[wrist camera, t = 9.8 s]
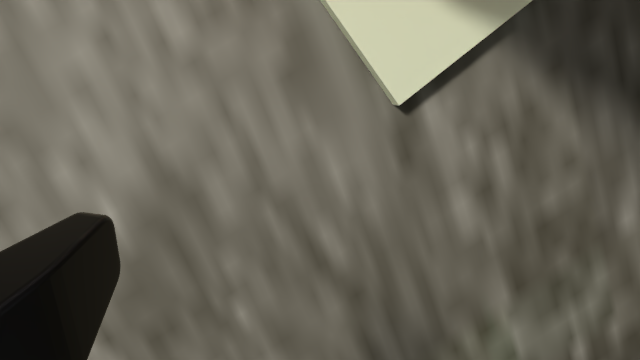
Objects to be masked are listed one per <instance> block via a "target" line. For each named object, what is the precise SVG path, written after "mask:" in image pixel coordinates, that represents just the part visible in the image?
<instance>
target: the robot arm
mask: <svg viewBox="0 0 640 360" xmlns="http://www.w3.org/2000/svg"><path fill="white" fill-rule="evenodd" d="M119 275H120V258H119V252H118V246H117V240H116V234H115V228H114V224H113V221H112V220H111V218H110V217H108V216H106V215H100V214H93V213H85V212H80V213H76V214H74V215H72V216H70V217H68V218H66V219H64V220H62V221H60V222H58V223H56V224H54V225H52V226H50V227H48V228H46V229H44V230H42V231H40V232H38V233H36V234H34V235H32V236H30V237H28V238H26V239H24V240H22V241H20V242H18V243H16V244H14V245H12V246H11V247H9V248H7V249H5V250H3V251H1V252H0V360H87V359H88V356H89V354H90V351H91V348H92V346H93V343H94V341H95V338H96V336H97V333H98V331H99V328H100V325H101V323H102V320H103V318H104V315H105V313H106V310H107V307H108V305H109V302H110V300H111V297H112V295H113V292H114V290H115V287H116V284H117V282H118V279H119Z"/></svg>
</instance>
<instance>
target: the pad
mask: <svg viewBox="0 0 640 360" xmlns="http://www.w3.org/2000/svg"><path fill="white" fill-rule="evenodd" d="M320 1H321V3H322V4H323V5H324V7H325V8H326V10H327V11H328V12H329V14H330V15H331V17H332V18H333V20H334V21H335V22H336V24H337V25H338V27H339V28H340V30H341V31H342V32H343V34H344V35H345V37H346V38H347V40H348V41H349V42H350V44H351V45H352V47H353V48H354V50H355V51H356V52H357V54H358V55H359V57H360V58H361V59H362V61H363V62H364V64H365V65H366V67H367V68H368V69H369V71H370V72H371V74H372V75H373V77H374V78H375V79H376V81H377V82H378V84H379V85H380V87H381V88H382V89H383V91H384V92H385V94H386V95H387V97H388V98H389V99H390V101H391V102H392V104H393V105H398V106H399V105H401V104H402V103H403V102H404V101H406V100H407V99H408V98H409V97H411V96H412V95H413V94H415V93H416V92H417V91H418V90H420V89H421V88H422V87H423V86H425V85H426V84H427V83H428V82H430V81H431V80H432V79H434V78H435V77H436V76H437V75H439V74H440V73H441V72H442V71H444V70H445V69H446V68H447V67H449V66H450V65H451V64H453V63H454V62H455V61H456V60H458V59H459V58H460V57H461V56H463V55H464V54H465V53H466V52H468V51H469V50H470V49H472V48H473V47H474V46H475V45H477V44H478V43H479V42H480V41H482V40H483V39H484V38H485V37H487V36H488V35H489V34H491V33H492V32H493V31H494V30H496V29H497V28H498V27H499V26H501V25H502V24H503V23H504V22H506V21H507V20H508V19H510V18H511V17H512V16H513V15H515V14H516V13H517V12H518V11H520V10H521V9H522V8H523V7H525V6H526V5H527V4H529V3H530V2H531V1H532V0H320Z"/></svg>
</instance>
